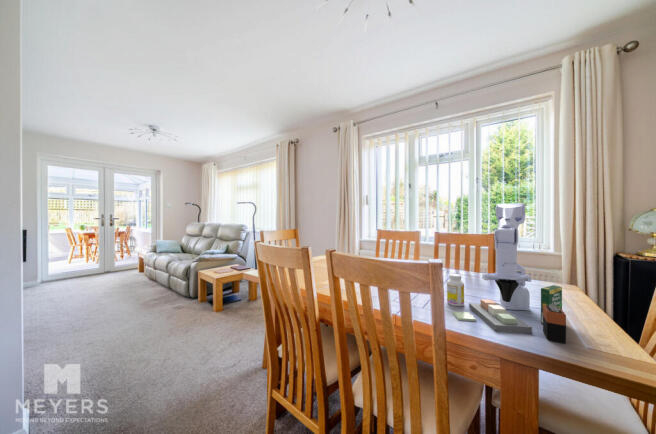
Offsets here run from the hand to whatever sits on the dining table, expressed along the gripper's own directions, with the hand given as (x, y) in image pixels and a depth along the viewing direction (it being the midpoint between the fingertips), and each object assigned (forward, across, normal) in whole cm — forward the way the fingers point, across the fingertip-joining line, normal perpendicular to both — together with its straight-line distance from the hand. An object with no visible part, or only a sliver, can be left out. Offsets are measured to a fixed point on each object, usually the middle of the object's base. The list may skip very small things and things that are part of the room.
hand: (506, 301), depth 82 cm
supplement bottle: (+9, -10, +20) cm, 24 cm away
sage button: (+8, 0, 0) cm, 8 cm away
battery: (+9, +10, -6) cm, 15 cm away
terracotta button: (+7, 0, +12) cm, 14 cm away
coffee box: (+9, +18, +5) cm, 20 cm away
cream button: (+7, 0, +6) cm, 10 cm away
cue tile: (+9, -12, +6) cm, 16 cm away
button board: (+9, 0, +6) cm, 11 cm away
